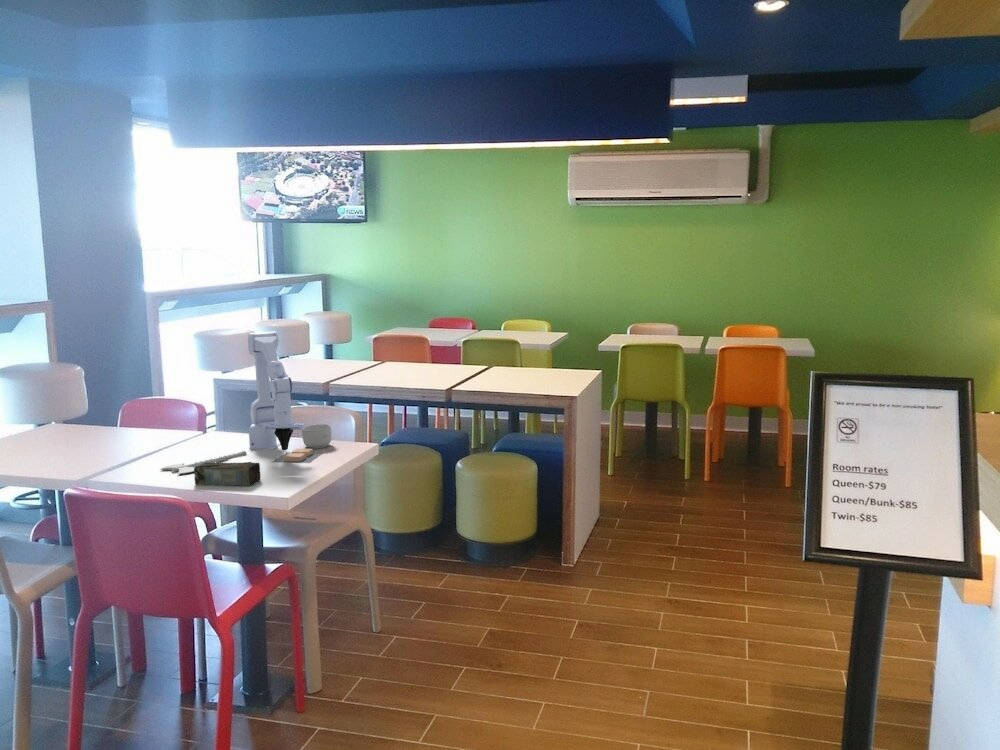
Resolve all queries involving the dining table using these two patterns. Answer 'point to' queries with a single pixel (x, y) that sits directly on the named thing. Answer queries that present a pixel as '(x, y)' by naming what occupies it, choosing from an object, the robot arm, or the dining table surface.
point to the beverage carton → (227, 474)
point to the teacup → (317, 435)
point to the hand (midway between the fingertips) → (285, 449)
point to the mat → (306, 460)
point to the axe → (190, 467)
